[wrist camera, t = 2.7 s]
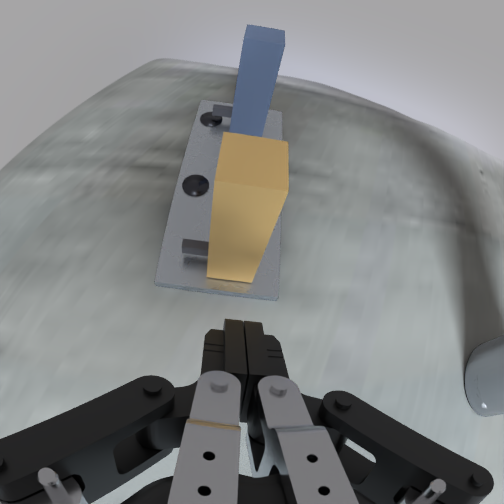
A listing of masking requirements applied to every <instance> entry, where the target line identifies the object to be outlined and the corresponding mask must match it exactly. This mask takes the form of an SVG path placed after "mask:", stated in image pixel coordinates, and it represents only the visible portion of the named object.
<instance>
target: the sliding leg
mask: <svg viewBox="0 0 504 504" xmlns="http://www.w3.org/2000/svg"><path fill="white" fill-rule="evenodd" d="M288 192H289V174H288V142H286V141H280V140H275V139H269V138H263V137H257V136H250V135H244V134H237V133H230V132H223V138H222V143H221V148H220V153H219V159H218V164H217V169H216V175H215V180H214V191H213V201H212V213H211V224H210V236H209V242H206V241H199V240H191V239H184V238H183V241H182V246H181V247H182V253H185V254H192V255H200V256H207V257H208V263H207V277H210V278H217V279H225V280H233V281H241V282H250V283H252V281H253V279H254V276H255V274H256V271H257V269H258V266H259V264H260V261H261V259H262V256H263V254H264V251H265V249H266V247H267V244H268V242H269V239H270V237H271V234H272V232H273V229H274V227H275V224H276V222H277V219H278V217H279V214H280V212H281V209H282V207H283V204H284V202H285V199H286V197H287V194H288Z"/></svg>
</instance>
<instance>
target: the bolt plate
mask: <svg viewBox="0 0 504 504" xmlns="http://www.w3.org/2000/svg"><path fill="white" fill-rule="evenodd" d="M214 104H217V105H225V106H232V107H233V104H231V103H223V102H215V101H207V100H201V102H200V105H199V108H198V111H197V115H196V118H195V121H194V124H193V128H192V131H191V134H190V138H189V141H188V145H187V148H186V152H185V155H184V159H183V162H182V166H181V170H180V173H179V177H178V181H177V185H176V189H175V192H174V196H173V200H172V204H171V208H170V213H169V217H168V221H167V225H166V230H165V234H164V238H163V243H162V247H161V252H160V257H159V261H158V266H157V271H156V276H155V281H154V282H155V285H156V286H161V287H168V288H175V289H182V290H190V291H197V292H205V293H213V294H221V295H229V296H237V297H246V298H254V299H263V300H272V301H276V300H277V299H278V297H279V272H280V238H281V212H280V214H279V217H278V219H277V222H276V224H275V227H274V229H273V232H272V234H271V237H270V239H269V242H268V244H267V247H266V249H265V251H264V254H263V256H262V259H261V261H260V264H259V266H258V269H257V271H256V274H255V276H254V279H253V281H252V283H250V282H241V281H233V280H225V279H217V278H210V277H207V263H208V257H207V256H200V255H192V254H185V253H182V247H181V246H182V241H183V238H184V239H191V240H199V241H206V242H209V236H210V224H211V213H212V201H213V191H214V180H215V175H216V169H217V164H218V159H219V153H220V148H221V143H222V138H223V132H229V130H230V123H231V118H229V117H221V116H213V115H212V111H213V105H214ZM230 133H233V132H230ZM237 134H240V133H237ZM244 135H247V134H244ZM250 136H253V135H250ZM257 137H259V136H257ZM262 137H263V138H269V139H275V140H280V141H282V112H281V111H276V110H270V109H269V110H268V114H267V118H266V122H265V126H264V130H263V135H262Z"/></svg>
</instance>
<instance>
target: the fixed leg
mask: <svg viewBox="0 0 504 504" xmlns="http://www.w3.org/2000/svg"><path fill="white" fill-rule="evenodd" d="M284 47H285V31H283V30H278V29H273V28H266V27H261V26H254V25H247V28H246V32H245V36H244V41H243V47H242V53H241V59H240V65H239V71H238V77H237V83H236V90H235V96H234V103H233V107H232V106H225V105H217V104H214V105H213V111H212V115H213V116H221V117H229V118H231V123H230V130H229V132H233V133H240V134H247V135H253V136H259V137H262V135H263V130H264V126H265V122H266V118H267V114H268V110H269V106H270V102H271V98H272V94H273V90H274V86H275V82H276V79H277V75H278V71H279V67H280V62H281V59H282V55H283V51H284Z"/></svg>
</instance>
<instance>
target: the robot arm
mask: <svg viewBox="0 0 504 504" xmlns="http://www.w3.org/2000/svg"><path fill="white" fill-rule="evenodd" d="M465 389H466V394H467V398H468V401H469V403H470V405H471V407H472V409H473V410H474V411H475V412H476V413H477V414H479V415H481V416H485V417H487V416H494V415H500V414H504V335H503V336H500V337H498V338H495V339H493V340H491V341H488V342H486V343H483V344H481V345H479V346H478V347H476V349H475V350H474V351H473V352H472V354H471V356H470V357H469V360H468V363H467V367H466V372H465ZM239 419H240V422H245V423H247V425H248V430H247V434H246V444H247V450H248V456H249V461H250V466H251V472H252V477H249V476H245V475H241V474H239V454H240V433H241V428H240V426H239ZM347 439H350V440H351V441H353V442H354V443H356V444H357V445H359V446H361V447H362V448H364V449H365V450H367V451H368V452H370V453H371V454H373V455H374V457H375V459H376V463H374V462H372V461H370V460H368V459H367V458H365V457H364V456H362V455H361V454H359V453H358V452H356V451H354V450H353V449H351V448H350V447H348V446H347V445H345V443H346V441H347ZM179 447H180V450H179V454H178V459H177V463H176V468H175V472H174V476H170V477H166V478H162V479H159V480H157V481H154V482H152V483H150V484H148V485H146V486H145V487H143V488H142V489H141V490H139V491H138V492H136V493H135V494H134V495H132V496H131V497H129V498H128V499H126V500H125V501H124V502H122V503H121V504H479V503H480V502H481V501H482V500H483V499H484V498H485V497H486V496H487V495H488V494H489V493H490V492H491V491H492V489H493V486H494V481H493V478H492V475H491V474H490V473H489V471H488V470H486V469H485V468H484V467H482V466H480V465H478V464H476V463H474V462H472V461H470V460H468V459H466V458H464V457H462V456H460V455H458V454H456V453H454V452H452V451H450V450H449V449H447V448H445V447H443V446H441V445H439V444H437V443H435V442H434V441H432V440H430V439H428V438H426V437H424V436H423V435H421V434H419V433H417V432H415V431H414V430H412V429H410V428H408V427H407V426H405V425H403V424H401V423H400V422H398V421H396V420H394V419H393V418H391V417H389V416H388V415H386V414H384V413H382V412H381V411H379V410H377V409H376V408H374V407H372V406H371V405H369V404H367V403H366V402H364V401H362V400H361V399H359V398H357V397H356V396H354V395H352V394H350V393H348V392H345V391H331V392H329V393H327V394H326V395H325V396H324V398H323V400H322V399H318V398H314V397H310V396H306V395H304V394H302V393H300V390H299V388H298V386H297V385H296V383H294V382H293V381H292V380H290V379H289V376H288V372H287V368H286V364H285V360H284V356H283V353H282V349H281V345H280V342H279V341H278V340H277V339H276V338H275V337H274V336H273V335H264V332H263V326H262V323H260V322H251V321H244V322H243V321H241V320H232V319H225V321H224V328H223V330H215V329H211V330H210V331H209V332H208V333H207V334H206V335H205V340H204V349H203V358H202V368H201V375H200V377H199V379H198V380H197V381H196V382H195V383H193V384H191V385H189V386H185V387H176V388H174V386H173V385H172V384H171V382H169V381H168V380H166V379H164V378H162V377H159V376H152V375H150V376H143V377H140V378H137V379H135V380H133V381H131V382H129V383H127V384H125V385H123V386H121V387H119V388H117V389H114V390H112V391H110V392H108V393H106V394H104V395H102V396H100V397H97V398H95V399H93V400H91V401H89V402H87V403H84V404H82V405H80V406H78V407H76V408H73V409H71V410H69V411H67V412H64V413H62V414H60V415H57V416H55V417H53V418H51V419H48V420H46V421H43V422H41V423H39V424H36V425H34V426H32V427H29V428H27V429H24V430H22V431H19V432H17V433H14V434H12V435H9V436H7V437H4V438H2V439H0V504H91V503H92V502H94V501H96V500H98V499H99V498H101V497H103V496H104V495H106V494H108V493H110V492H111V491H113V490H115V489H116V488H118V487H119V486H121V485H123V484H124V483H126V482H128V481H129V480H131V479H132V478H134V477H135V476H137V475H139V474H140V473H142V472H143V471H145V470H146V469H148V468H149V467H151V466H152V465H154V464H155V463H157V462H158V461H160V460H161V459H163V458H164V457H166V456H167V455H169V454H170V453H171V452H172V450H173V448H179Z"/></svg>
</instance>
